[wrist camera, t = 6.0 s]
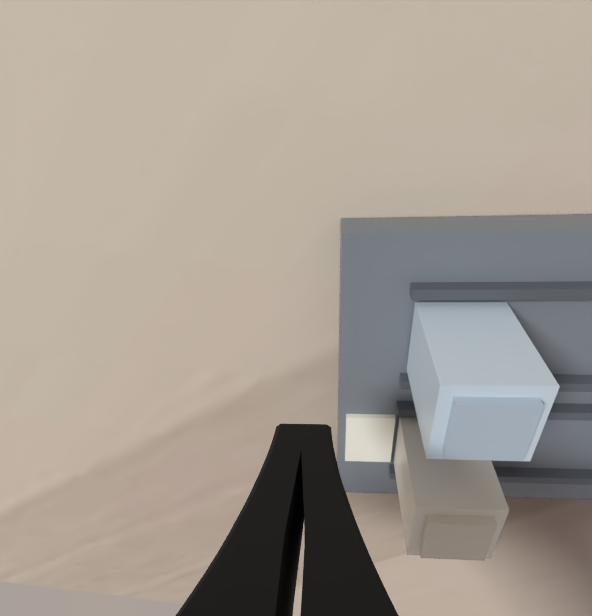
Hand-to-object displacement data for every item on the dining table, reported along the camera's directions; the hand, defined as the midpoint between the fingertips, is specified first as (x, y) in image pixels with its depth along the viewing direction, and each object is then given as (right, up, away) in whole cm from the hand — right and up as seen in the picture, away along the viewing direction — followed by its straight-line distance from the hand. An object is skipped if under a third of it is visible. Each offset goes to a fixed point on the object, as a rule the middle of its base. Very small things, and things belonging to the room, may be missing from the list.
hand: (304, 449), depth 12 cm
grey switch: (+5, +3, +4) cm, 7 cm away
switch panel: (+8, +1, +6) cm, 10 cm away
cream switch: (+6, -2, +7) cm, 9 cm away
